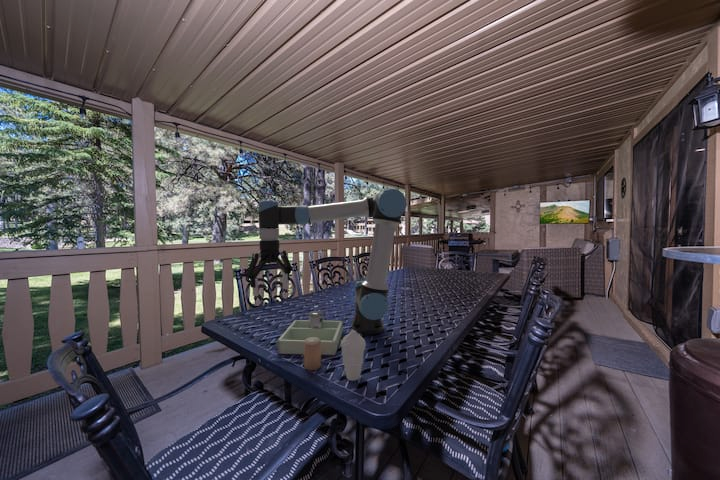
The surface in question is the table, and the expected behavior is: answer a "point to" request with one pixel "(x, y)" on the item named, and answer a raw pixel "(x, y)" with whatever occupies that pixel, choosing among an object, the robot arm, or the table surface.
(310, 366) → the jar
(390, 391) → the table surface
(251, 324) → the table surface
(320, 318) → the tin
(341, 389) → the table surface
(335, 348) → the tray
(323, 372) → the table surface
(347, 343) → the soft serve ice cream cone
